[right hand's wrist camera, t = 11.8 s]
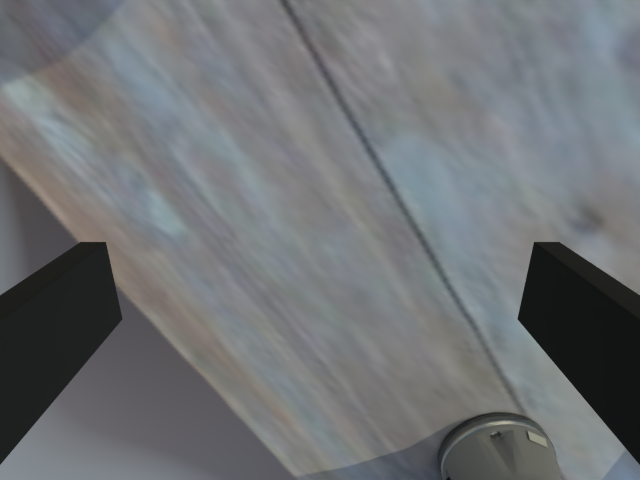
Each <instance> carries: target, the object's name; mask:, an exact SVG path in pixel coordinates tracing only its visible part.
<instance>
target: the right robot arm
mask: <svg viewBox="0 0 640 480" xmlns="http://www.w3.org/2000/svg"><path fill="white" fill-rule="evenodd" d="M121 320H122V315H121V311H120V306H119V301H118V297H117V292H116V287H115V283H114V278H113V273H112V269H111V264H110V259H109V255H108V250H107V245H106V242H80V243H79V244H77V245H76V246H74V247H73V248H71V249H70V250H68V251H67V252H65V253H64V254H62V255H61V256H59V257H58V258H56V259H55V260H53V261H52V262H50V263H49V264H47V265H45V266H44V267H43V268H41V269H40V270H38V271H37V272H35V273H33V274H32V275H30V276H29V277H27V278H26V279H24V280H23V281H21V282H20V283H18V284H17V285H15V286H14V287H12V288H11V289H9V290H8V291H6V292H5V293H3V294H2V295H0V464H1V463H2V462H3V461H4V460H5V458H6V457H7V456H8V455H9V454H10V452H11V451H12V450H13V449H14V448H15V446H16V445H17V444H18V443H19V442H20V440H21V439H22V438H23V437H24V436H25V435H26V433H27V432H28V431H29V430H30V428H31V427H32V426H33V425H34V424H35V423H36V421H37V420H38V419H39V418H40V417H41V415H42V414H43V413H44V412H45V411H46V409H47V408H48V407H49V406H50V405H51V403H52V402H53V401H54V400H55V399H56V398H57V396H58V395H59V394H60V393H61V392H62V390H63V389H64V388H65V387H66V386H67V385H68V383H69V382H70V381H71V380H72V379H73V377H74V376H75V375H76V374H77V373H78V371H79V370H80V369H81V368H82V367H83V365H84V364H85V363H86V362H87V361H88V359H89V358H90V357H91V356H92V355H93V353H94V352H95V351H96V350H97V349H98V348H99V346H100V345H101V344H102V343H103V342H104V340H105V339H106V338H107V337H108V336H109V334H110V333H111V332H112V331H113V330H114V328H115V327H116V326H117V325H118V324H119V323H120V321H121ZM518 320H519V321H520V323H521V324H522V325H523V326H524V327H525V329H526V330H527V331H528V332H529V333H530V334H531V336H532V337H533V338H534V339H535V340H536V342H537V343H538V344H539V345H540V346H541V348H542V349H543V350H544V351H545V352H546V354H547V355H548V356H549V357H550V358H551V359H552V361H553V362H554V363H555V364H556V365H557V367H558V368H559V369H560V370H561V371H562V373H563V374H564V375H565V376H566V377H567V379H568V380H569V381H570V382H571V383H572V385H573V386H574V387H575V388H576V389H577V390H578V392H579V393H580V394H581V395H582V396H583V398H584V399H585V400H586V401H587V402H588V404H589V405H590V406H591V407H592V408H593V410H594V411H595V412H596V413H597V414H598V415H599V417H600V418H601V419H602V420H603V421H604V423H605V424H606V425H607V426H608V427H609V429H610V430H611V431H612V432H613V433H614V435H615V436H616V437H617V438H618V439H619V441H620V442H621V443H622V444H623V445H624V446H625V448H626V449H627V450H628V451H629V452H630V454H631V455H632V456H633V457H634V458H635V460H636V461H637V462H638V463H639V464H640V295H638V294H637V293H635V292H634V291H632V290H631V289H629V288H628V287H626V286H625V285H623V284H622V283H620V282H619V281H617V280H616V279H614V278H613V277H611V276H610V275H608V274H607V273H605V272H604V271H602V270H601V269H599V268H598V267H596V266H595V265H593V264H592V263H590V262H588V261H587V260H585V259H584V258H582V257H581V256H579V255H578V254H576V253H575V252H573V251H572V250H570V249H569V248H567V247H566V246H564V245H563V244H561V243H560V242H534V245H533V250H532V255H531V259H530V264H529V269H528V273H527V278H526V283H525V287H524V292H523V297H522V301H521V306H520V311H519V315H518ZM438 463H439V467H440V471H441V474H442V477H443V480H562V478H561V474H560V470H559V466H558V463H557V460H556V453H555V449H554V447H553V444H552V443H551V441H550V440H549V438H548V437H547V435H546V433H545V432H544V430H543V429H542V428H541V427H540V426H539V425H538V424H537V423H535V422H534V421H532V420H531V419H529V418H526V417H524V416H521V415H517V414H511V413H494V414H487V415H483V416H479V417H476V418H474V419H471V420H469V421H467V422H465V423H463V424H461V425H460V426H458V427H457V428H456V429H455V430H453V431H452V432H451V433H450V434H449V435H448V436H447V438H446V439H445V440H444V442H443V444H442V446H441V448H440V451H439V456H438Z"/></svg>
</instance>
